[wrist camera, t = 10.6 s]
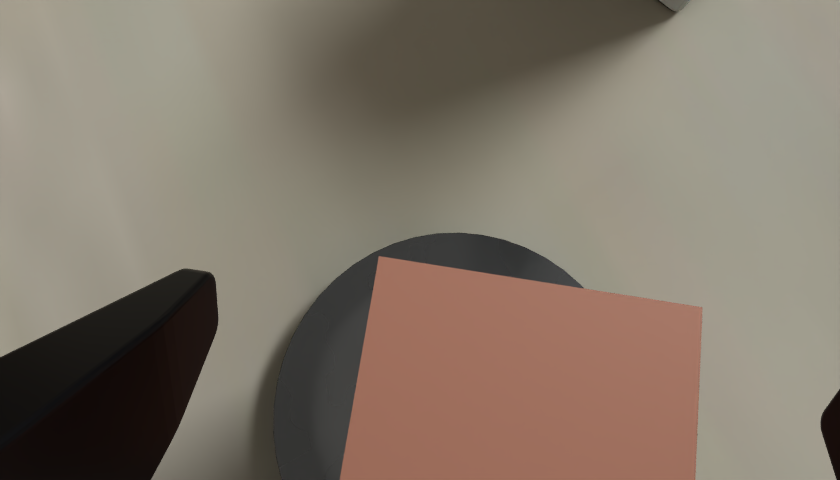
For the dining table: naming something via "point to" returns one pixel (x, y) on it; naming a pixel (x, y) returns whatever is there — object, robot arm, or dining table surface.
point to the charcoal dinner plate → (344, 337)
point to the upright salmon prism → (521, 381)
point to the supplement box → (675, 4)
